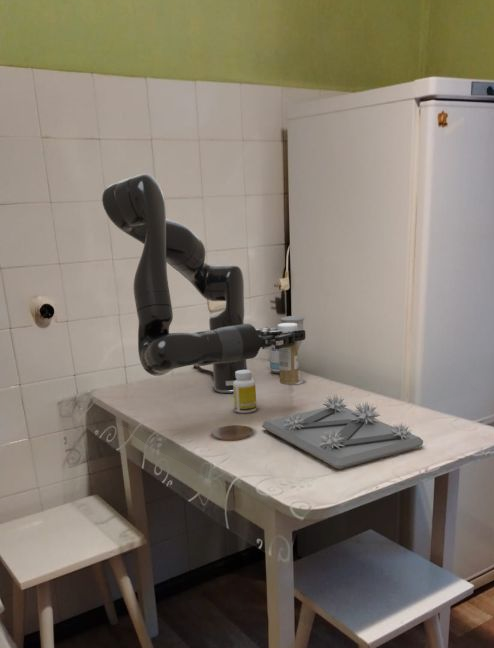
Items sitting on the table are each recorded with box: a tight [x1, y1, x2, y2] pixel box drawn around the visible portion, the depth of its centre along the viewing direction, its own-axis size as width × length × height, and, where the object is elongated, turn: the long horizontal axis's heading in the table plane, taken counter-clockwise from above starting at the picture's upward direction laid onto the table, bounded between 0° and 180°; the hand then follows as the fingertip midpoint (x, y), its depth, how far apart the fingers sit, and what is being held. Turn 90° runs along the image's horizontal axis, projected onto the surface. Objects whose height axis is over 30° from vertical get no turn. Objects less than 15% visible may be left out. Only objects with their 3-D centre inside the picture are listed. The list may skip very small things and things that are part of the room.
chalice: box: [279, 315, 306, 385], centre depth 179 cm, size 7×7×18 cm
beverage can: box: [268, 347, 280, 375], centre depth 192 cm, size 7×7×12 cm
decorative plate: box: [261, 394, 424, 470], centre depth 134 cm, size 30×22×7 cm
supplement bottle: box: [233, 369, 258, 414], centre depth 156 cm, size 5×5×10 cm
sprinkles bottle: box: [276, 322, 299, 385], centre depth 145 cm, size 5×5×14 cm
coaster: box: [212, 424, 254, 442], centre depth 142 cm, size 9×9×1 cm
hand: (297, 333), depth 145 cm, fingers closed on sprinkles bottle, 4 cm apart
